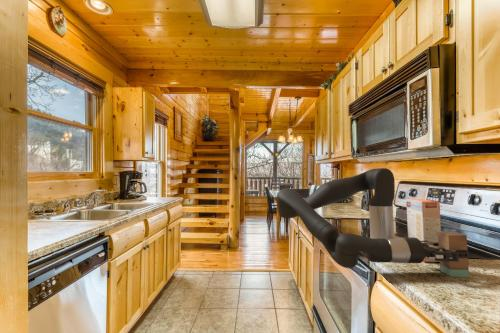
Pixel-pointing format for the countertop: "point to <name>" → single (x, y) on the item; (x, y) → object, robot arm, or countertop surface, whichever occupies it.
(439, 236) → the walnut block
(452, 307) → the countertop surface
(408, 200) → the cracker box
